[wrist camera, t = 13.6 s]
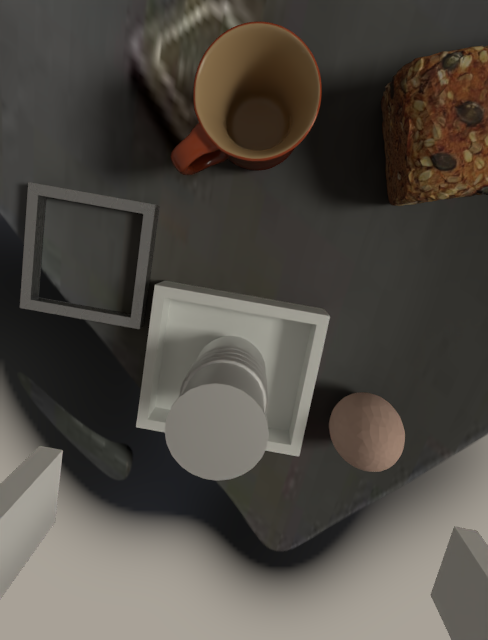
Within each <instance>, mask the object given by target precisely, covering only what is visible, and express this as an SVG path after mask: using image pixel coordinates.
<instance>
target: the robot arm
mask: <svg viewBox="0 0 488 640" xmlns="http://www.w3.org/2000/svg"><path fill="white" fill-rule="evenodd" d="M62 453H63V450H59V449H53V448H48V447H43V446H39V447H38V448H37V449H36V450H35V451H34V452H33V453H32V454H31V455H30V456H29V457H28V458H27V459H26V460H25V461H24V462H23V463H22V464H21V465H20V466H19V467H18V468H16V470H14V471H13V472H12V473H11V474H10V475H9V476H8V477H7V478H6V479H5V480H4V481H3V482H2V483H1V484H0V599H1V598H2V596H3V595H4V593H5V592H6V590H7V589H8V588H9V586H10V585H11V584H12V582H13V581H14V579H15V578H16V576H17V575H18V574H19V572H20V571H21V569H22V568H23V567H24V565H25V564H26V562H27V561H28V560H29V558H30V557H31V555H32V554H33V553H34V551H35V550H36V548H37V547H38V546H39V544H40V543H41V541H42V540H43V539H44V537H45V536H46V534H47V533H48V531H49V530H50V529H51V527H52V526H53V524H54V523H55V520H56V510H57V501H58V490H59V481H60V472H61V462H62ZM431 597H432V599H433V601H434V603H435V605H436V607H437V609H438V612H439V614H440V616H441V618H442V620H443V622H444V625H445V627H446V629H447V631H448V633H449V635H450V637H451V640H488V545H487V544H486V542H485V541H484V540H483V538H482V537H481V536H480V534H479V533H478V531H475V530H470V529H465V528H460V527H454V529H453V532H452V535H451V537H450V540H449V543H448V546H447V549H446V552H445V555H444V558H443V561H442V564H441V566H440V569H439V572H438V575H437V578H436V581H435V584H434V587H433V590H432V593H431Z"/></svg>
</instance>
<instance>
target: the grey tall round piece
mask: <svg viewBox="0 0 488 640" xmlns="http://www.w3.org/2000/svg"><path fill="white" fill-rule="evenodd" d="M267 390H268V389H267V378H266V367H265V361H264V359H263V357H262V354H261V353H260V352H259V350H258V349H257V348H256V347H255V346H254V345H253V344H252V343H251V342H249V341H248V340H246V339H244V338H242V337H238V336H224V337H221V338H218V339H216V340H213V341H212V342H210V343H209V344H207V345H206V346H205V347H204V348H203V350H202V351H201V352H200V354H199V356H198V358H197V360H196V361H195V362H194V364H192V365H191V367H190V369H189V371H188V373H187V374H186V376H185V378H184V380H183V383H182V385H181V388H180V395H179V397H178V399H177V400H176V401H175V402H174V404H173V405H172V407H171V409H170V411H169V414H168V416H167V418H166V425H165V435H166V442H167V446H168V448H169V450H170V452H171V454H172V456H173V457H174V458H175V460H176V461H177V462H178V463H179V464H180V466H182V467H183V468H184V469H186V470H187V471H189V472H190V473H191V474H194V475H196V476H199V477H201V478H204V479H210V480H227V479H232V478H235V477H238V476H241V475H243V474H245V473H246V472H248V471H249V470H250V469H252V468H253V467H254V466H255V465H256V464H257V463H258V462H259V460H260V459H261V458H262V456H263V454H264V452H265V450H266V447H267V442H268V436H269V430H268V422H267V417H266V415H265V413H266V411H267V404H268V392H267Z"/></svg>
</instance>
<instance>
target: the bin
mask: <svg viewBox="0 0 488 640" xmlns="http://www.w3.org/2000/svg"><path fill="white" fill-rule="evenodd" d="M329 318H330V315H329V314H328V313H327V312H326V311H325V310H324V309H322V308H316V307H311V306H305V305H300V304H294V303H288V302H283V301H277V300H272V299H266V298H260V297H255V296H249V295H244V294H238V293H232V292H227V291H221V290H216V289H210V288H204V287H199V286H193V285H188V284H182V283H176V282H171V281H162V282H160V283H158V284H155V287H154V295H153V302H152V310H151V317H150V325H149V333H148V340H147V348H146V355H145V363H144V370H143V378H142V386H141V393H140V401H139V408H138V417H137V424H136V427H138V428H144V429H150V430H155V431H160V432H165V425H166V418H167V416H168V414H169V411H170V409H171V407H172V405H173V404H174V402H175V401H176V400H177V399H178V397H179V395H180V388H181V385H182V383H183V380H184V378H185V376H186V374H187V373H188V371H189V369H190V367H191V365H192V364H194V362H195V361H196V360H197V358H198V356H199V354H200V352H201V351H202V350H203V348H204V347H205V346H206V345H207V344H209V343H210V342H212V341H213V340H216V339H218V338H221V337H224V336H238V337H242V338H244V339H246V340H248V341H249V342H251V343H252V344H253V345H254V346H255V347H256V348H257V349H258V350H259V352H260V353H261V354H262V357H263V359H264V361H265V367H266V378H267V389H268V390H267V392H268V404H267V411H266V413H265V415H266V417H267V422H268V430H269V436H268V442H267V447H266V451H271V452H277V453H282V454H288V455H293V456H299V455H300V450H301V446H302V441H303V437H304V432H305V428H306V423H307V419H308V414H309V409H310V405H311V400H312V396H313V391H314V387H315V382H316V378H317V373H318V368H319V364H320V359H321V355H322V350H323V346H324V341H325V337H326V332H327V327H328V323H329Z"/></svg>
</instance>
